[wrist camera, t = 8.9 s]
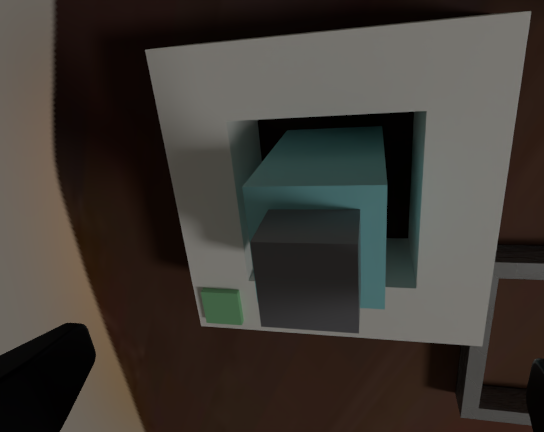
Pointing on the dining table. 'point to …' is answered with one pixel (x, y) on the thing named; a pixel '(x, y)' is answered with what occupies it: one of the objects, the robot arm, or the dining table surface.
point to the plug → (319, 228)
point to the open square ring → (469, 388)
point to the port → (351, 101)
